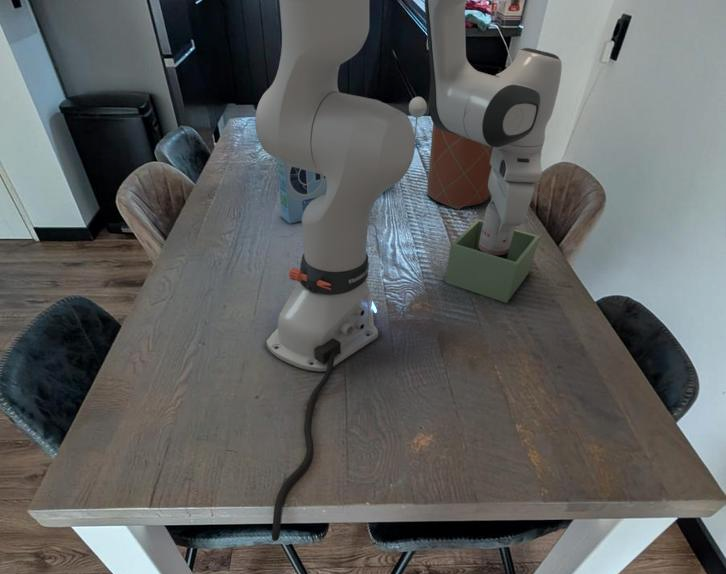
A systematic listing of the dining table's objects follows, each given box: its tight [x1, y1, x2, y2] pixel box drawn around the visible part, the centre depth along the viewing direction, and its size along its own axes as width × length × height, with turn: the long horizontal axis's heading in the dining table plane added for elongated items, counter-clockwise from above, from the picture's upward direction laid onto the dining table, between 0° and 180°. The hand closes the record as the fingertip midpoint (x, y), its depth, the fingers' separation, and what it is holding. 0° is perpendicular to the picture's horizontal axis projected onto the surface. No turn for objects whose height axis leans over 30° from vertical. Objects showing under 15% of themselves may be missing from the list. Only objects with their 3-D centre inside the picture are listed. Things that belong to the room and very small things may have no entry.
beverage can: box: [477, 201, 516, 259], centre depth 102 cm, size 6×7×15 cm
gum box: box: [275, 158, 327, 225], centre depth 120 cm, size 20×5×23 cm, turn 123°
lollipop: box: [408, 96, 428, 139], centre depth 161 cm, size 6×6×15 cm
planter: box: [426, 122, 493, 210], centre depth 131 cm, size 19×19×20 cm
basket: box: [444, 218, 541, 304], centre depth 104 cm, size 15×15×9 cm
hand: (497, 228), depth 99 cm, fingers open, 8 cm apart
